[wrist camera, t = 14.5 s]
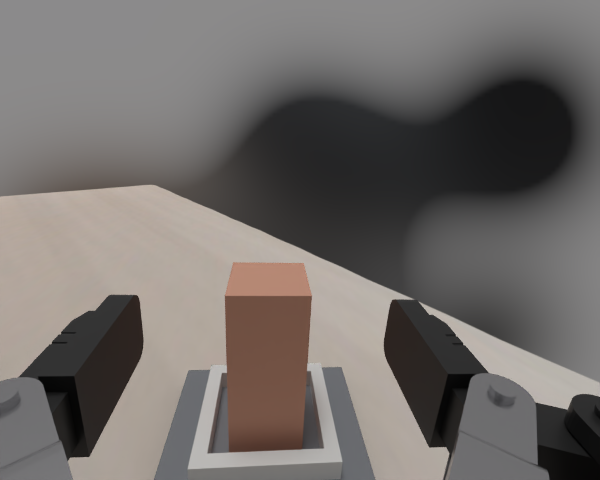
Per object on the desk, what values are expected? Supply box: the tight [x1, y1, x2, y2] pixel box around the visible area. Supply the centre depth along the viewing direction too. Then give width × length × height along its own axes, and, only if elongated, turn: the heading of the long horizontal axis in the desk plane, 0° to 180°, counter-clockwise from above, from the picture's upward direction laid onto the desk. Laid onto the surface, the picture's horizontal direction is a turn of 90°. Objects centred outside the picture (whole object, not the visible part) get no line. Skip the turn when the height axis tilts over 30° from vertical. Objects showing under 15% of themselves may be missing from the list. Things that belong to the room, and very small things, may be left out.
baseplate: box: [154, 363, 375, 480], centre depth 26 cm, size 14×12×3 cm
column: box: [225, 263, 312, 453], centre depth 24 cm, size 5×5×12 cm
